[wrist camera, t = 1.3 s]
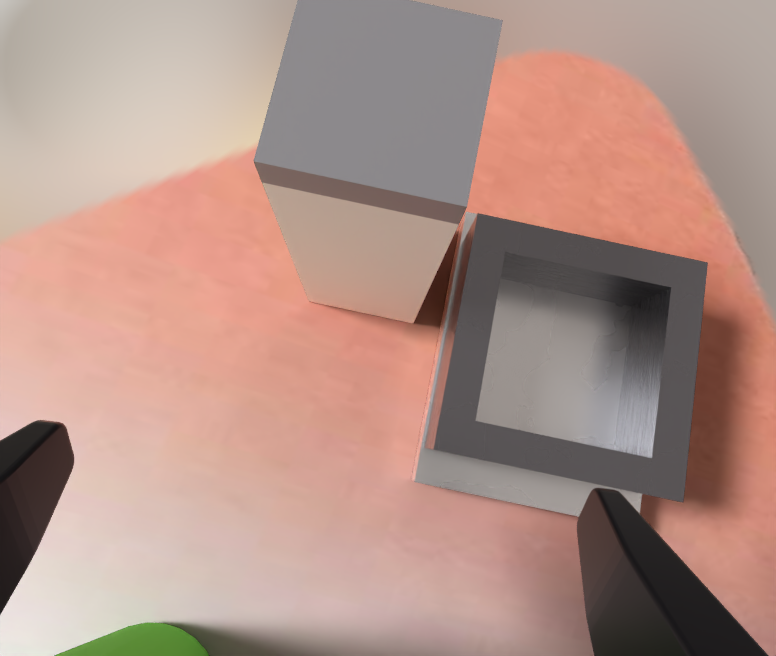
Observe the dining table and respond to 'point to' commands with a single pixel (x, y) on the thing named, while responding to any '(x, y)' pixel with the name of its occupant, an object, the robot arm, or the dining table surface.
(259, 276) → the dining table surface
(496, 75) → the dining table surface
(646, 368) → the socket
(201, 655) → the cup
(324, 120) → the plug
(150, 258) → the dining table surface
